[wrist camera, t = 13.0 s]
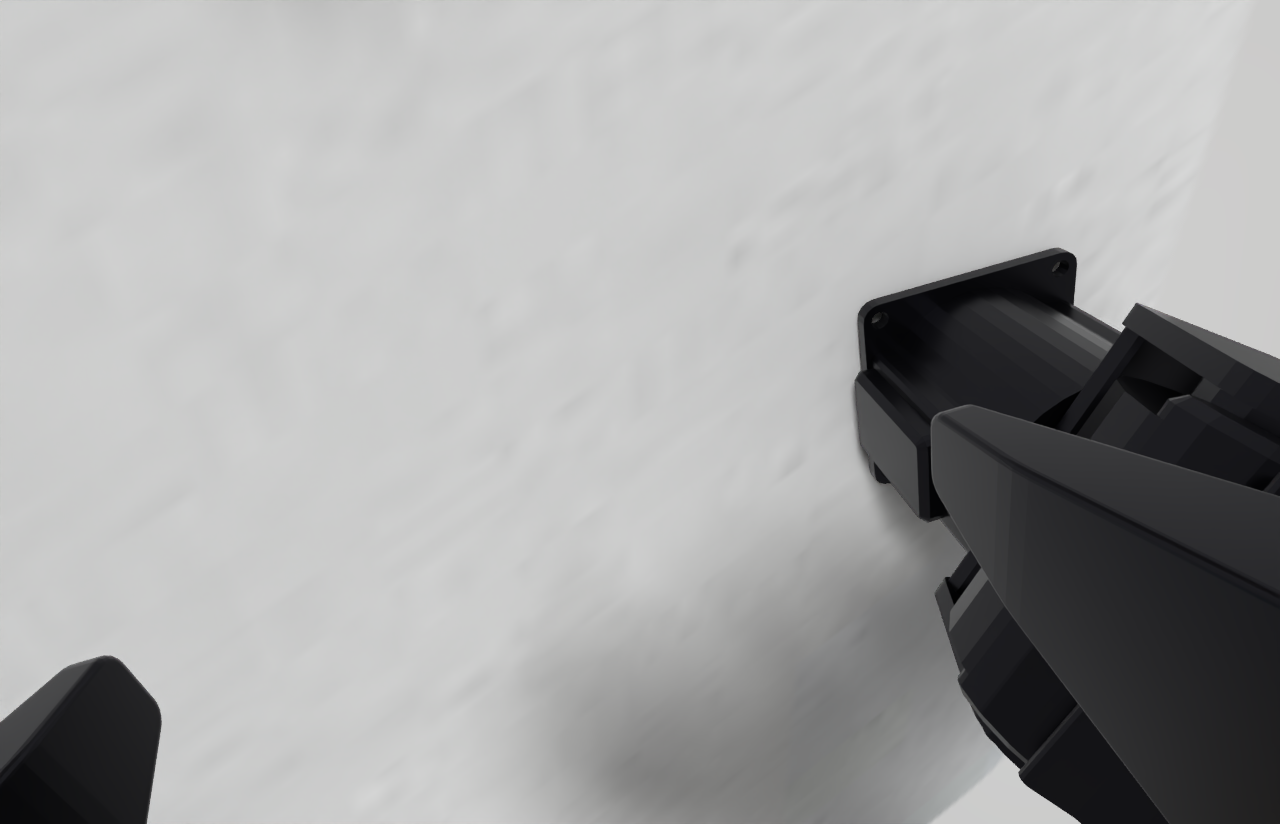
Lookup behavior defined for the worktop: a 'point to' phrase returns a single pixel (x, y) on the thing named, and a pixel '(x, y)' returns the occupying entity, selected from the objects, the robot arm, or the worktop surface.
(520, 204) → the worktop surface
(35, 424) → the worktop surface
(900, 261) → the worktop surface
